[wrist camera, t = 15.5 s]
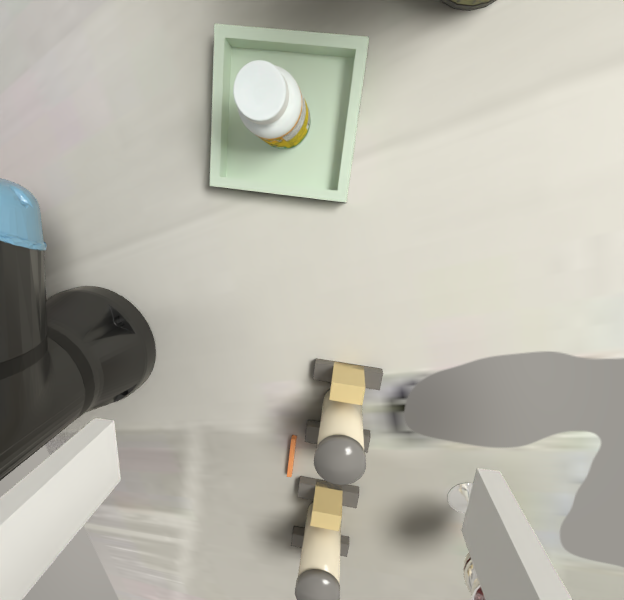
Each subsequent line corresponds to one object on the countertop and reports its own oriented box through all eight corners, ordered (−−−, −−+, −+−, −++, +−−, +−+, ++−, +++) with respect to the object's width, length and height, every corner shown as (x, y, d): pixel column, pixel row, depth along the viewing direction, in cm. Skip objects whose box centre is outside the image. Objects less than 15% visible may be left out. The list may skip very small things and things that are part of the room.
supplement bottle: (322, 120, 34) (311, 89, 24) (286, 162, 35) (262, 147, 26) (283, 78, 33) (256, 30, 24) (247, 123, 34) (209, 93, 25)
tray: (218, 186, 37) (209, 185, 35) (224, 36, 33) (214, 23, 31) (346, 202, 36) (346, 202, 34) (367, 49, 32) (369, 36, 30)
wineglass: (429, 499, 45) (455, 600, 34) (466, 468, 43) (507, 563, 32) (468, 527, 46) (507, 635, 34) (506, 497, 44) (561, 601, 32)
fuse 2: (304, 523, 49) (292, 606, 39) (308, 496, 47) (297, 574, 37) (339, 530, 48) (336, 615, 38) (344, 503, 47) (342, 583, 37)
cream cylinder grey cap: (320, 416, 44) (311, 479, 34) (325, 382, 42) (317, 437, 32) (359, 423, 43) (361, 488, 33) (365, 388, 42) (369, 446, 32)
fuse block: (280, 535, 50) (272, 570, 45) (301, 356, 41) (295, 376, 37) (346, 548, 49) (346, 585, 44) (382, 368, 41) (386, 390, 36)
